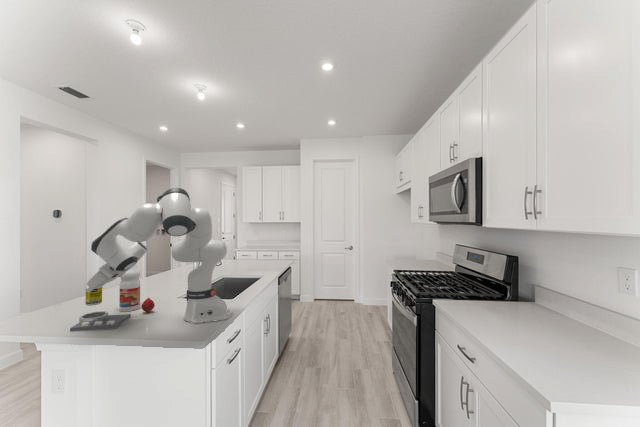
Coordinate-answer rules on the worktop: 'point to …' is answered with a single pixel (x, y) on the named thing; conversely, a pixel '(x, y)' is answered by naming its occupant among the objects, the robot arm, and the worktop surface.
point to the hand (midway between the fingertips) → (92, 289)
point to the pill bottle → (94, 296)
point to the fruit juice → (130, 290)
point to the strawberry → (148, 305)
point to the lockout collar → (93, 317)
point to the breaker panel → (102, 323)
